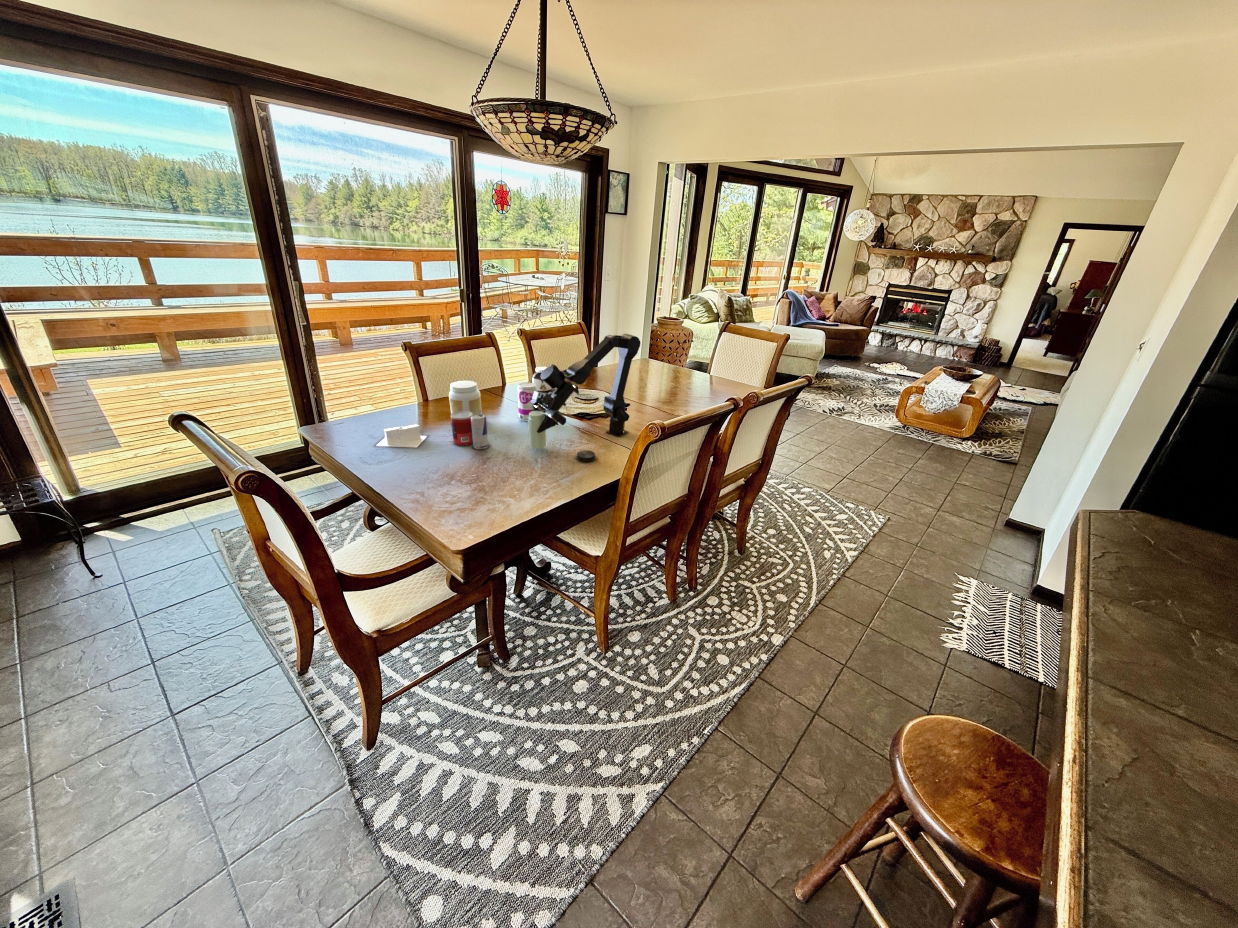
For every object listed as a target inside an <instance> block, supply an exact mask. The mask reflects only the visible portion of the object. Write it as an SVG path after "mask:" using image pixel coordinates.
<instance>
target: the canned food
mask: <svg viewBox="0 0 1238 928" xmlns="http://www.w3.org/2000/svg"><path fill="white" fill-rule="evenodd" d="M472 415H473V413H472V412H468V411H459V412H455V413H452V414H451V413H450V425H451V433H452V442H453V444H454V445H456V446H459V447H463V446H464V447H465V446H470V445H473V437H472V426H471V416H472Z"/></svg>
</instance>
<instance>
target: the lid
mask: <svg viewBox="0 0 1238 928" xmlns="http://www.w3.org/2000/svg"><path fill="white" fill-rule="evenodd" d="M576 460H577V462H581V463H592V462H594V461H595V460H596V453H595V452H594V451H592V450H587V449H585V450H584V449H583V450H579V451H577V452H576Z"/></svg>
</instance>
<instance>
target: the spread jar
mask: <svg viewBox="0 0 1238 928" xmlns="http://www.w3.org/2000/svg"><path fill="white" fill-rule="evenodd" d="M547 367H548V366H537V367H535V372H534V373H533V375H532V380H531V381H532V382H531V383H534V384H536V387H537V388H538V391H539V392H542V393H547V394H548V393H549V392H552V390H555V389H556V388H554V389H553V388H551V387H550V386H549V385H548V384H547V383H545V382H544V381H543V380H542V379H541V373H542V371H543V370H544V369H546V368H547Z"/></svg>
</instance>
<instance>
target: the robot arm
mask: <svg viewBox="0 0 1238 928" xmlns="http://www.w3.org/2000/svg"><path fill="white" fill-rule="evenodd" d="M614 348H617V351H618V356H619V358H618V362H617V366H616V371H615V375H614V380H613V384H612V387H611V392H610V394H608V396H607V395H605V396H604V400H603V404H602V407H603V411H604V413H605V414H606V416H607V417H608V418H610V419H609V426H608V430H606V432H605V433H606V434H609V435H612V436H616V437H620V436H622V435H625V434H627V433H628V430H626V429H625V425H626V422H628V421H629V420H630V414H629V413H627V411H626V410H625V407H626V402H625V396H624V395H625V390H626V386H627V383H628V378H629V375H630V370H631V365H632V361H633V359H634V358H635V357H636V356H637V354H639V349H640V348H641V339H640V338H639V337H638V336H635V335H633V334H629V333H623V334H622V335H619V334H613V335H612V334H607V335H605V336H604V338H603V339H602V340H601V341H600V342H599V343H598V344H597V345H596V346H595V347H593V349H592V350H591V351H590V352H589V353H588V354H587V355H586V356H585V357H584V358H582V359H581V360H578V361H576V362H574V363H573V364H571V365H570V366H568V367H567V369H566V368H565V369H562V370H561V369H559V367H558V366H557V365H556V364H553V363H552V364H551V365H549V366H546V367H547V368H546V369H544V370H543V371H542V373H541V379H542V380H543V381H544V382H545V383H547V384H548V385H549V386H550V387H551V388H552V390H553V391H550V392H547V393H542V392H539V391H536V390H535V391H534V394H533V397H532V400H531V401H530V402H531V403H532V404H533V405H534V406H533V405H532V407H533V410H534V411H542V412H544V416H545V419H544V420H543V422H542V423H541V425H540V427H539V428H538V430H537V432H538V433H541V432H543V431H545V430H546V431H547V430H549V429H551V428H554V427H555V426H559V424H560V425H561V426H565V424H566V423H567V417H565V416H564V415H563V414H562V413H561V412H560V410H561V409H562V407H567V403H566V402H567V401H568V399H569V398H570V397H571V396H572V394H573V393H575V394H577V395H579V394H580V391H579V385H583V384H585V382H587V380H588V379H589V377H590V376H591V373H592V371H593V369H594V368H595V367H596V366H597V365H598V364H599V363H600V362H602V360H603V359H604V358H605V357H606V356H607V355H608V354H609V353H610V352H611V351H612V350H613V349H614ZM573 383H574V384H573ZM554 388H556V389H554Z"/></svg>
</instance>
